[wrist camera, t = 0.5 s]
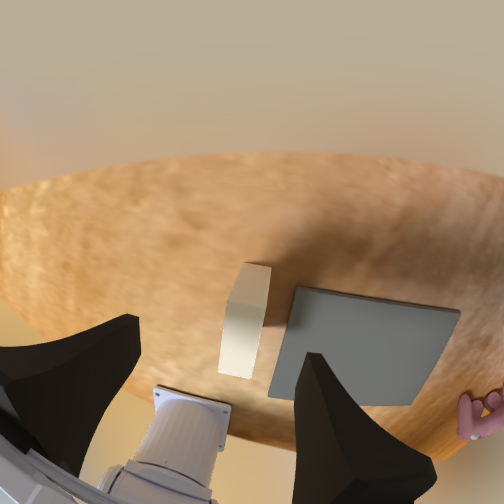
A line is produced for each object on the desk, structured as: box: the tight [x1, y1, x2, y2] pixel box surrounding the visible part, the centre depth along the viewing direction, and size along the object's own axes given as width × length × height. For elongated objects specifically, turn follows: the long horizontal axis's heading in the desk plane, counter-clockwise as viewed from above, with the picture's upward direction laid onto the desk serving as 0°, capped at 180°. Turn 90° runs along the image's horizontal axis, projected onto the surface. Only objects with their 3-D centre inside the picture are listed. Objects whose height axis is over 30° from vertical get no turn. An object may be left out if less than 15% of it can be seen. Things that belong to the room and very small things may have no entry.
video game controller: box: [457, 385, 504, 441], centre depth 19 cm, size 10×5×7 cm, turn 100°
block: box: [218, 262, 272, 379], centre depth 17 cm, size 5×2×6 cm, turn 171°
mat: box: [268, 286, 461, 406], centre depth 21 cm, size 11×15×1 cm
